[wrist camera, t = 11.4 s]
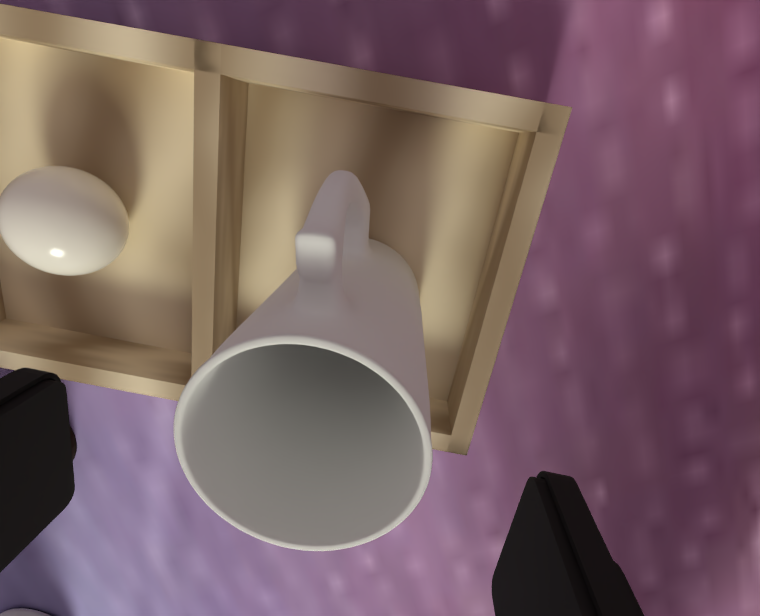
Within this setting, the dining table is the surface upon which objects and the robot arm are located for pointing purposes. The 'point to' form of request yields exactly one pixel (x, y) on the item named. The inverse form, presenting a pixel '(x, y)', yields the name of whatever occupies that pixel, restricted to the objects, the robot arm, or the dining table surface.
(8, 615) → the milk bottle
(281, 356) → the mug
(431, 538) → the dining table surface
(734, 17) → the dining table surface
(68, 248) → the stone egg
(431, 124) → the caddy
